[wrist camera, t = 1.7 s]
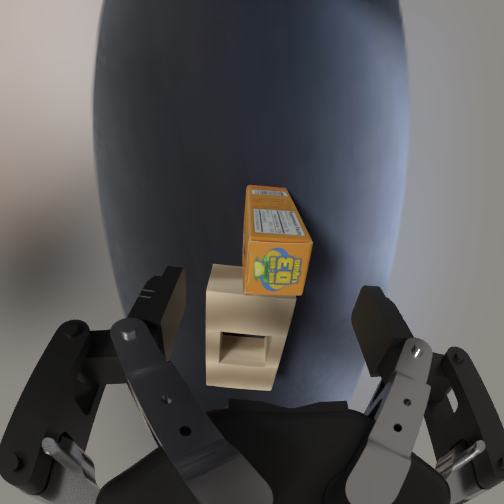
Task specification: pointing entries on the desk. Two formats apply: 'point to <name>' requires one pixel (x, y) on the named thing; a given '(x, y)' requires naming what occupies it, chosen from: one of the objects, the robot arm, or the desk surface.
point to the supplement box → (274, 244)
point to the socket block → (243, 332)
